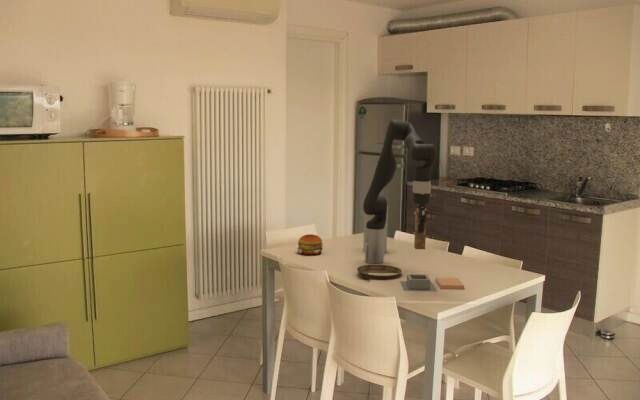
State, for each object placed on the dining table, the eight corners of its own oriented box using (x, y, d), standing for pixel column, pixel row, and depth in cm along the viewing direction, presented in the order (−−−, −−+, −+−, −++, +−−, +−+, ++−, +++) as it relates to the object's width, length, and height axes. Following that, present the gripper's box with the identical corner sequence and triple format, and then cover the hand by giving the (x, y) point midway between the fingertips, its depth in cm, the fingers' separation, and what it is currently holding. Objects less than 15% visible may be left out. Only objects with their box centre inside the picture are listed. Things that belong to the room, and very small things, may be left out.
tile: (435, 284, 267) (440, 292, 255) (435, 277, 267) (440, 285, 255) (457, 284, 267) (463, 292, 255) (458, 277, 267) (464, 285, 255)
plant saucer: (373, 268, 292) (373, 261, 292) (410, 276, 279) (410, 269, 279) (347, 276, 276) (347, 269, 276) (385, 285, 263) (385, 278, 263)
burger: (327, 254, 319) (328, 235, 318) (306, 257, 311) (306, 238, 310) (313, 249, 330) (313, 231, 328) (292, 252, 322) (292, 233, 321)
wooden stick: (415, 249, 254) (417, 211, 252) (414, 247, 258) (415, 210, 256) (425, 249, 254) (426, 211, 252) (423, 247, 258) (425, 210, 256)
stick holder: (403, 292, 252) (404, 281, 251) (399, 283, 266) (400, 272, 265) (437, 293, 252) (437, 281, 251) (431, 283, 266) (431, 272, 265)
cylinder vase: (391, 252, 325) (392, 206, 321) (373, 255, 318) (374, 208, 314) (376, 248, 335) (377, 203, 331) (358, 250, 328) (359, 205, 324)
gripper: (410, 189, 260) (408, 228, 262) (415, 193, 246) (413, 235, 248) (427, 189, 260) (426, 228, 262) (433, 194, 246) (431, 235, 248)
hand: (420, 231), depth 255 cm, fingers closed on wooden stick, 4 cm apart
